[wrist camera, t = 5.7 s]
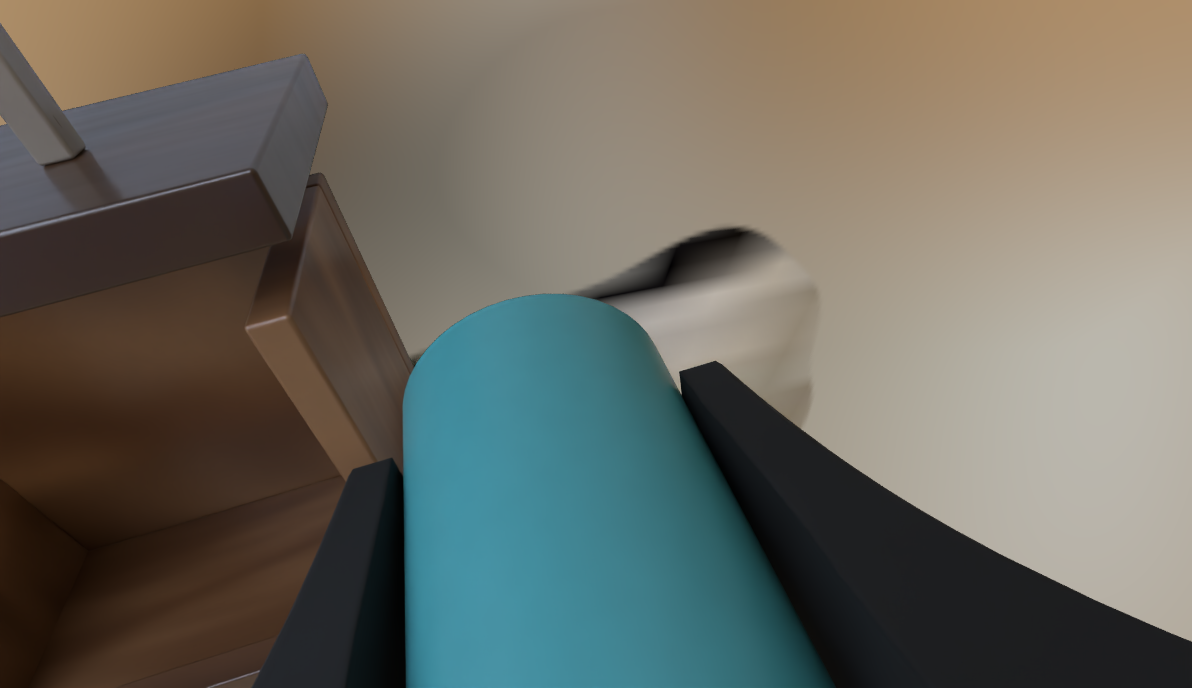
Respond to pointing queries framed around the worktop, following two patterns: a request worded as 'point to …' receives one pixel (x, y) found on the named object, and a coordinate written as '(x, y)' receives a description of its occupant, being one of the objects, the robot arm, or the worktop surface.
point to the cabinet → (214, 670)
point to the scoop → (577, 518)
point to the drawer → (174, 370)
